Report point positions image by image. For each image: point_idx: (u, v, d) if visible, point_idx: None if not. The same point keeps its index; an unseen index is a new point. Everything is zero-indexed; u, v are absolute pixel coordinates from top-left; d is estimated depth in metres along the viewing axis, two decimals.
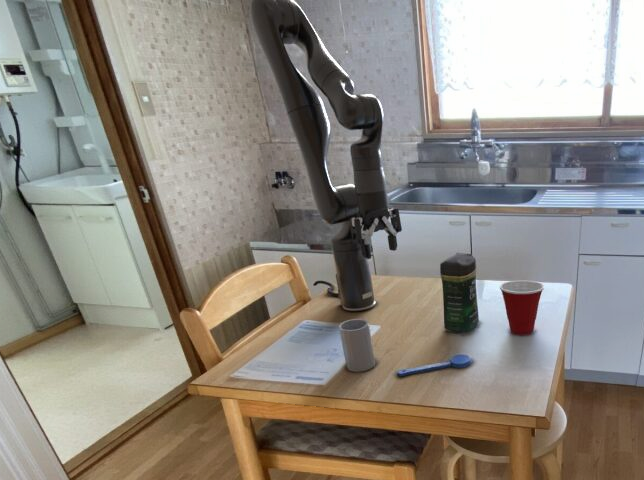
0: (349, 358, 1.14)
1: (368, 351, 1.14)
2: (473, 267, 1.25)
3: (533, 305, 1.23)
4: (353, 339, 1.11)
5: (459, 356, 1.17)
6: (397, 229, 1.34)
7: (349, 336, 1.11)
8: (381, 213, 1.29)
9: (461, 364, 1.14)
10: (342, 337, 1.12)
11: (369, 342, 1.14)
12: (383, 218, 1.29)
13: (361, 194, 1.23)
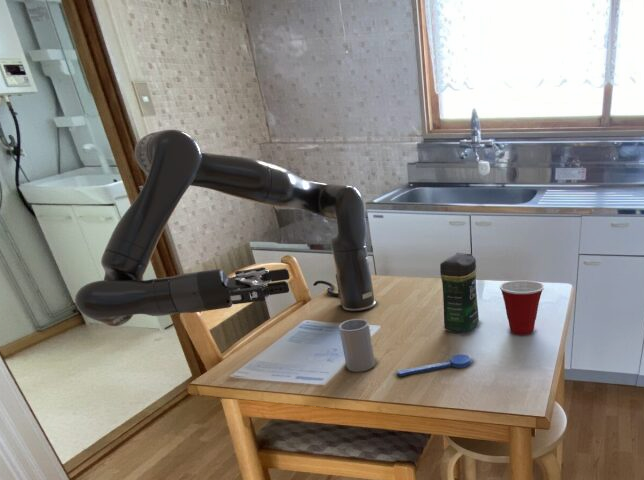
0: (349, 358, 1.14)
1: (368, 351, 1.14)
2: (473, 267, 1.25)
3: (533, 305, 1.23)
4: (353, 339, 1.11)
5: (459, 356, 1.17)
6: None
7: (349, 336, 1.11)
8: None
9: (461, 364, 1.14)
10: (342, 337, 1.12)
11: (369, 342, 1.14)
12: None
13: None
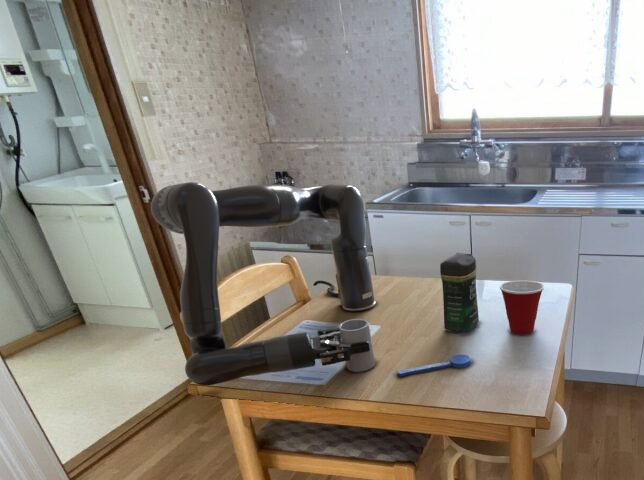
0: None
1: (368, 351, 1.14)
2: (473, 267, 1.25)
3: (533, 305, 1.23)
4: (353, 339, 1.11)
5: (459, 356, 1.17)
6: None
7: (349, 336, 1.11)
8: None
9: (461, 364, 1.14)
10: (342, 337, 1.12)
11: (369, 342, 1.14)
12: None
13: None
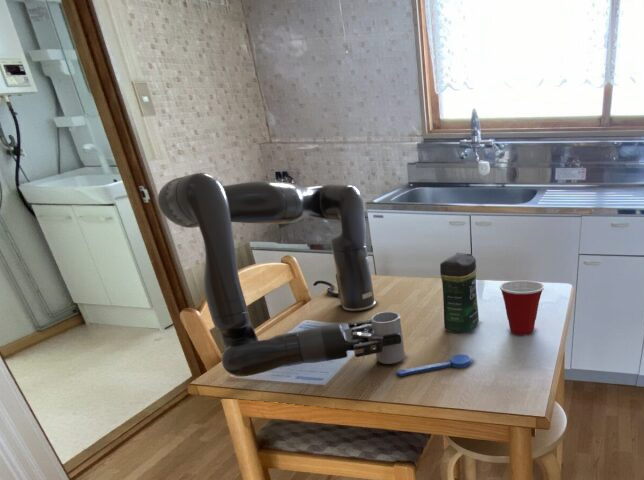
0: None
1: None
2: (473, 267, 1.25)
3: (533, 305, 1.23)
4: (385, 331, 1.12)
5: (459, 356, 1.17)
6: None
7: (381, 328, 1.12)
8: None
9: (461, 364, 1.14)
10: (374, 329, 1.13)
11: (400, 334, 1.15)
12: None
13: None
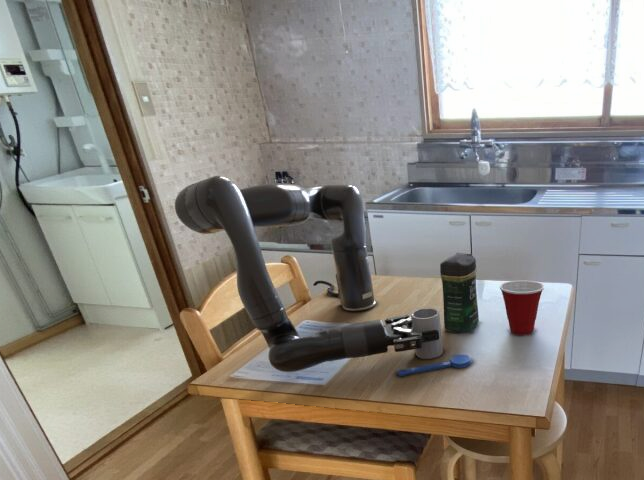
0: None
1: (438, 339, 1.18)
2: (473, 267, 1.25)
3: (533, 305, 1.23)
4: (426, 327, 1.15)
5: (459, 356, 1.17)
6: None
7: (422, 324, 1.15)
8: None
9: (461, 364, 1.14)
10: (414, 325, 1.16)
11: (439, 330, 1.18)
12: None
13: None
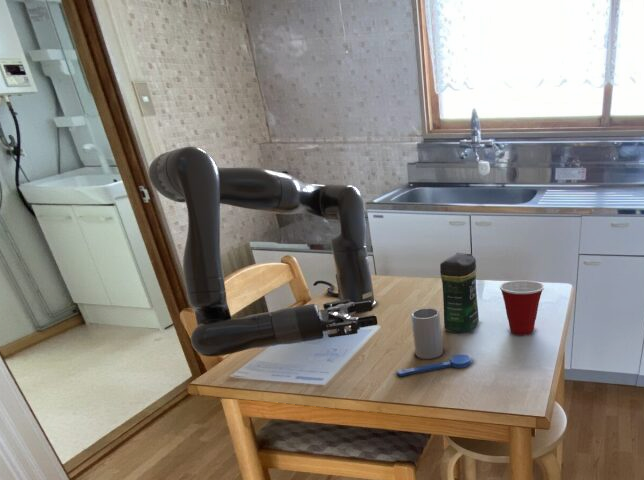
0: (420, 345, 1.18)
1: (438, 339, 1.18)
2: (473, 267, 1.25)
3: (533, 305, 1.23)
4: (426, 327, 1.15)
5: (459, 356, 1.17)
6: None
7: (422, 324, 1.15)
8: None
9: (461, 364, 1.14)
10: (414, 325, 1.16)
11: (439, 330, 1.18)
12: None
13: None
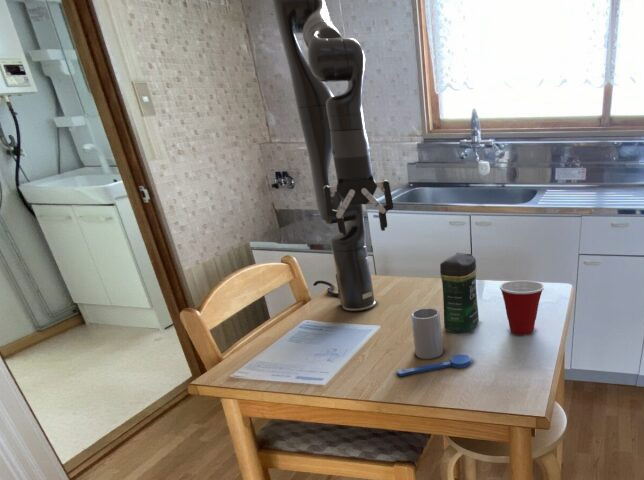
0: (420, 345, 1.18)
1: (438, 339, 1.18)
2: (473, 267, 1.25)
3: (533, 305, 1.23)
4: (426, 327, 1.15)
5: (459, 356, 1.17)
6: (387, 206, 1.13)
7: (422, 324, 1.15)
8: (362, 184, 1.10)
9: (461, 364, 1.14)
10: (414, 325, 1.16)
11: (439, 330, 1.18)
12: (362, 190, 1.09)
13: (334, 159, 1.06)
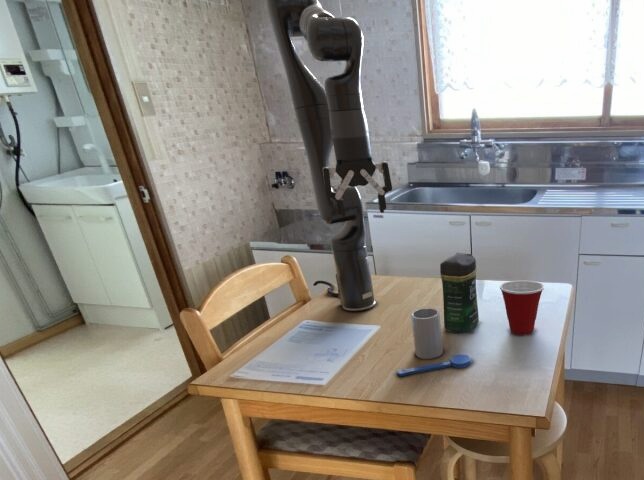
0: (420, 345, 1.18)
1: (438, 339, 1.18)
2: (473, 267, 1.25)
3: (533, 305, 1.23)
4: (426, 327, 1.15)
5: (459, 356, 1.17)
6: (386, 188, 1.14)
7: (422, 324, 1.15)
8: (361, 165, 1.10)
9: (461, 364, 1.14)
10: (414, 325, 1.16)
11: (439, 330, 1.18)
12: (361, 171, 1.10)
13: (333, 140, 1.06)
